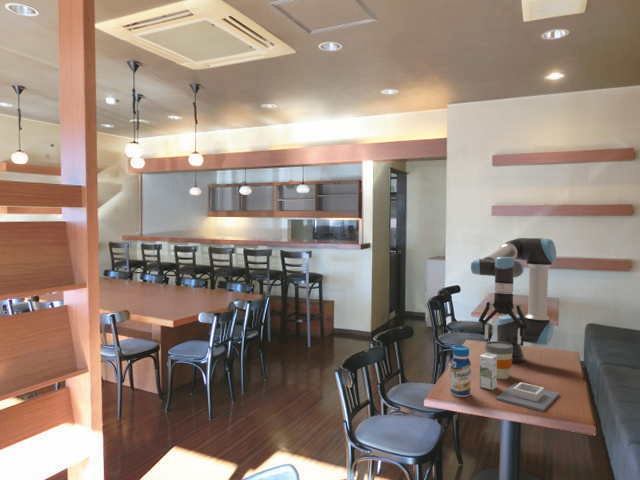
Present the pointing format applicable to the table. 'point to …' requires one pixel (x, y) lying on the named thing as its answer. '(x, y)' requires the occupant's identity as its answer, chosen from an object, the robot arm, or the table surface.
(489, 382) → the syrup box
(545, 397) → the keeper board
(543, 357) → the table surface
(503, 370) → the reusable coffee cup
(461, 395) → the beverage bottle
